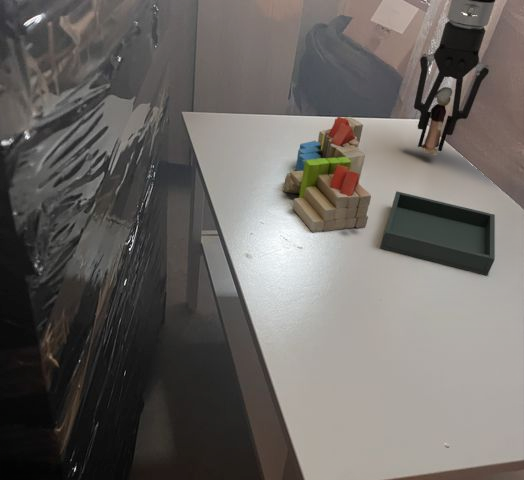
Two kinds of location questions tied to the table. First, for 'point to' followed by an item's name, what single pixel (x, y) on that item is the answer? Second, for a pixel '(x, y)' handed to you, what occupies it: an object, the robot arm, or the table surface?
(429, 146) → the grandmother figurine
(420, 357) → the table surface
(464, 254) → the tray
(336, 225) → the pile of blocks
